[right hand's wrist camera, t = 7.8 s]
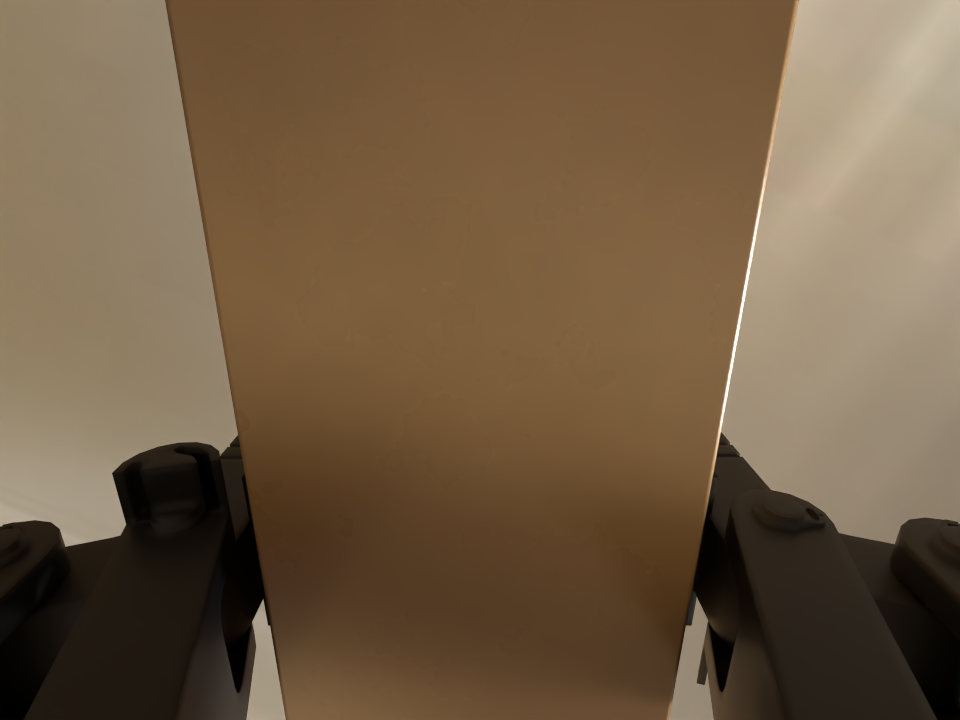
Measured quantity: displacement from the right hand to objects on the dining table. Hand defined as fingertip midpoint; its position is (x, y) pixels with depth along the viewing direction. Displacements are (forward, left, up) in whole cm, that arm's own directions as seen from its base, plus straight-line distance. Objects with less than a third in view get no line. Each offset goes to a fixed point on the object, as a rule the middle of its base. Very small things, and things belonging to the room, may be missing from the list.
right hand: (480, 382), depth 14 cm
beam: (-11, +20, -1) cm, 23 cm away
